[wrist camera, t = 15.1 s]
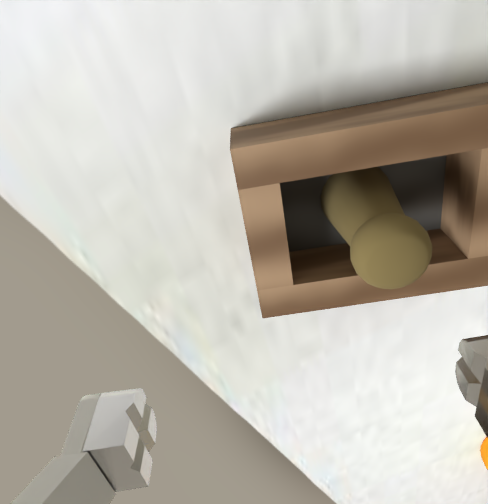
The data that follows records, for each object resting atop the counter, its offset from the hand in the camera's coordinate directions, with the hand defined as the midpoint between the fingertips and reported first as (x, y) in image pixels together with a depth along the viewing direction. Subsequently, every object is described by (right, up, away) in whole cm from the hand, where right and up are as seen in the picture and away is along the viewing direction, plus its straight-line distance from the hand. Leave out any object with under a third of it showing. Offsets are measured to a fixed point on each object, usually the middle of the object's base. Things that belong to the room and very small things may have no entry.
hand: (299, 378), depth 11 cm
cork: (+8, +8, +25) cm, 28 cm away
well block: (+9, +8, +25) cm, 28 cm away
